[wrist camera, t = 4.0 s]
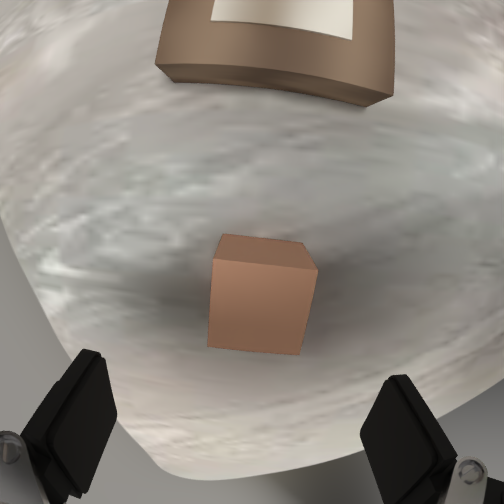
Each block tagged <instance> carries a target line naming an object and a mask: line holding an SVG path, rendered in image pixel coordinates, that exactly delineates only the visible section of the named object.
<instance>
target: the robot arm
mask: <svg viewBox="0 0 504 504" xmlns="http://www.w3.org/2000/svg"><path fill="white" fill-rule="evenodd" d="M116 419H117V410H116V406H115V402H114V398H113V393H112V389H111V385H110V380H109V375H108V370H107V365H106V360H105V358H103V357H101V354H100V353H99V352H96V351H92V350H88V349H82V350H81V351H80V353H79V354H78V355H77V357H76V358H75V359H74V361H73V362H72V364H71V365H70V366H69V368H68V369H67V370H66V372H65V373H64V375H63V376H62V378H61V379H60V380H59V381H57V382H56V383H55V384H54V385H53V387H52V388H51V390H50V391H49V393H48V394H47V395H46V397H45V398H44V400H43V401H42V403H41V404H40V406H39V407H38V409H37V410H36V411H35V413H34V414H33V416H32V418H31V419H30V421H29V422H28V424H27V425H26V427H25V428H24V430H23V431H22V433H21V435H18V434H16V433H15V432H12V431H0V504H66V501H67V499H68V496H69V495H71V496H74V497H76V498H79V499H80V498H81V496H82V493H84V494H86V493H87V492H88V490H89V488H90V485H91V482H92V480H93V477H94V474H95V472H96V469H97V466H98V464H99V461H100V459H101V456H102V454H103V451H104V449H105V446H106V444H107V441H108V438H109V436H110V434H111V432H112V429H113V427H114V424H115V422H116ZM360 438H361V441H362V443H363V446H364V449H365V451H366V454H367V457H368V460H369V463H370V465H371V468H372V471H373V474H374V476H375V479H376V482H377V485H378V488H379V491H380V494H381V497H382V500H383V503H384V504H504V482H502V481H499V480H496V479H493V478H490V477H488V476H487V475H488V472H487V468H486V466H485V465H484V463H483V462H482V461H481V460H479V459H478V458H475V457H471V456H467V457H463V458H461V459H459V460H458V461H457V460H456V457H457V456H458V455H457V453H456V451H455V450H454V448H453V446H452V445H451V443H450V441H449V440H448V438H447V436H446V435H445V433H444V432H443V430H442V428H441V427H440V425H439V423H438V422H437V420H436V418H435V417H434V415H433V414H432V412H431V411H430V409H429V407H428V406H427V404H426V403H425V401H424V400H423V398H422V397H421V395H420V393H419V392H418V390H417V389H416V387H415V386H414V384H413V383H412V381H411V380H410V378H409V377H408V376H407V375H405V374H403V375H392V376H390V377H389V378H388V380H386V381H385V382H384V383H383V386H382V388H381V390H380V392H379V394H378V396H377V398H376V400H375V402H374V404H373V406H372V408H371V410H370V412H369V414H368V416H367V418H366V420H365V422H364V424H363V426H362V428H361V430H360Z"/></svg>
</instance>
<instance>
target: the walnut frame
mask: <svg viewBox="0 0 504 504" xmlns="http://www.w3.org/2000/svg"><path fill="white" fill-rule="evenodd" d="M155 65H156V66H157V67H158V68H159V69H160V70H162V71H163V72H164V73H165V74H166V75H167V76H168V77H169V78H170V79H171V80H172V81H173V82H174V83H212V84H228V85H241V86H251V87H260V88H269V89H277V90H284V91H290V92H297V93H303V94H308V95H314V96H319V97H324V98H329V99H334V100H339V101H343V102H348V103H352V104H356V105H360V106H364V107H368V106H370V105H372V104H375V103H377V102H379V101H382V100H384V99H387V98H389V97H392V96H393V93H394V69H395V26H394V4H393V0H169V3H168V7H167V11H166V14H165V19H164V23H163V27H162V31H161V36H160V40H159V45H158V50H157V55H156V60H155Z"/></svg>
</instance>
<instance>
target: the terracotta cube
mask: <svg viewBox="0 0 504 504" xmlns="http://www.w3.org/2000/svg"><path fill="white" fill-rule="evenodd" d="M317 275H318V269H317V267H316V265H315V264H314V262H313V260H312V258H311V257H310V255H309V253H308V251H307V250H306V248H305V246H304V245H303V243H300V242H291V241H283V240H275V239H266V238H257V237H249V236H240V235H231V234H223V235H222V238H221V240H220V243H219V245H218V248H217V250H216V253H215V255H214V258H213V268H212V281H211V295H210V310H209V326H208V344H207V347H215V348H223V349H232V350H242V351H252V352H263V353H275V354H290V355H299V354H300V350H301V346H302V342H303V338H304V334H305V330H306V325H307V321H308V317H309V312H310V308H311V303H312V299H313V294H314V289H315V284H316V280H317Z"/></svg>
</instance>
